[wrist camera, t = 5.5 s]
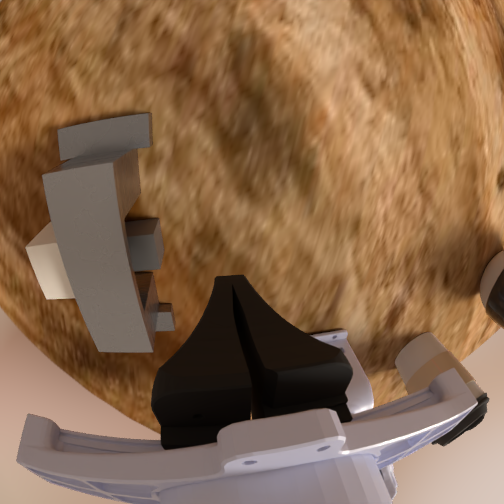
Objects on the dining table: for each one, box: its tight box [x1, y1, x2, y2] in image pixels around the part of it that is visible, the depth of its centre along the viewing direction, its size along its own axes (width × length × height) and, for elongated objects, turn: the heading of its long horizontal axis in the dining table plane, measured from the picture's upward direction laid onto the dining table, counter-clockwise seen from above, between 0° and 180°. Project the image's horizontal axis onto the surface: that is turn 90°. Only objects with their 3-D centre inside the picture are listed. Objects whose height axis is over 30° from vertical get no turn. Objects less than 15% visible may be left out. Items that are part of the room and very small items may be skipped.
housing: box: [42, 113, 175, 352], centre depth 16 cm, size 6×16×5 cm, turn 178°
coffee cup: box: [395, 332, 489, 446], centre depth 26 cm, size 9×9×15 cm
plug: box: [25, 218, 164, 299], centre depth 16 cm, size 8×4×4 cm, turn 90°
